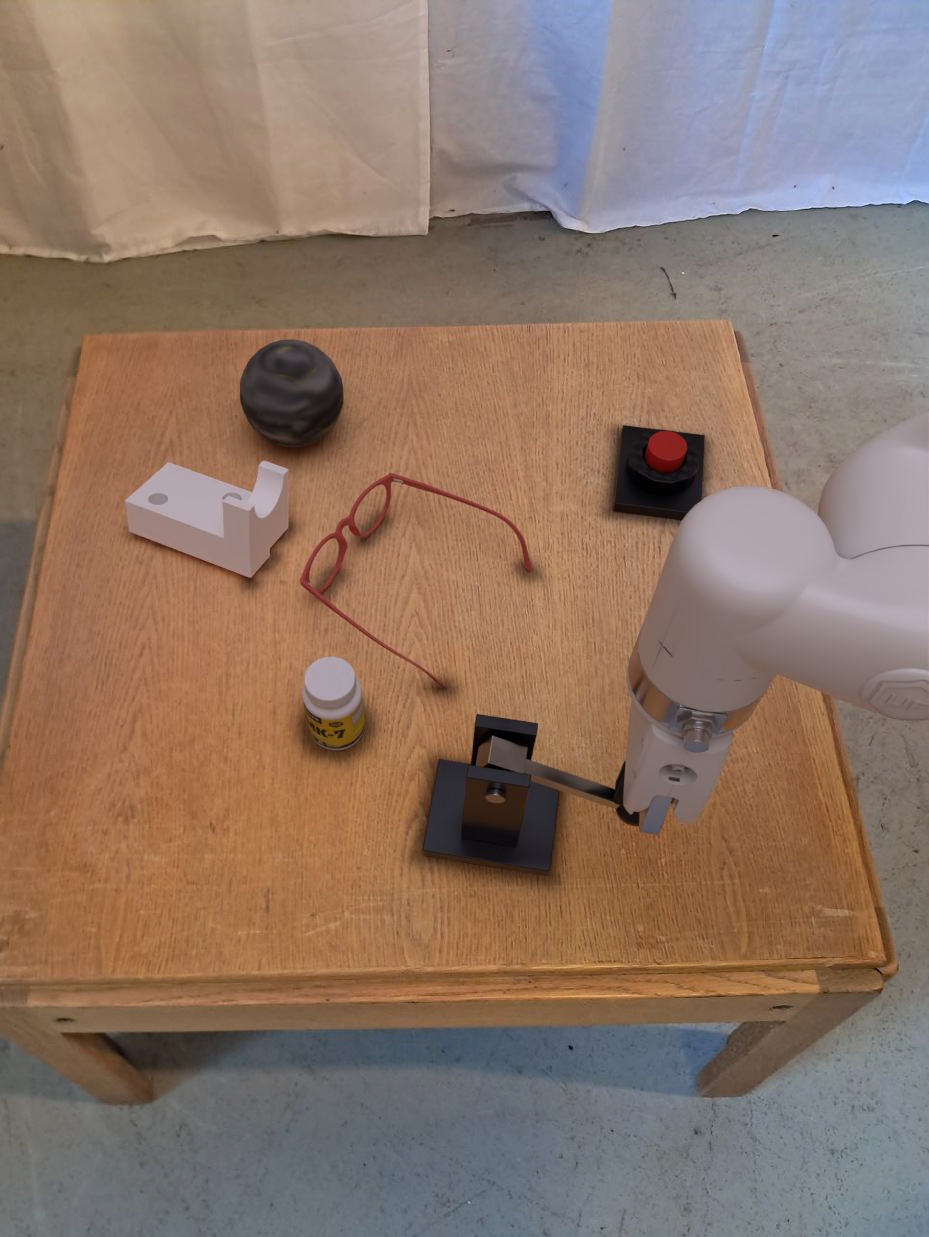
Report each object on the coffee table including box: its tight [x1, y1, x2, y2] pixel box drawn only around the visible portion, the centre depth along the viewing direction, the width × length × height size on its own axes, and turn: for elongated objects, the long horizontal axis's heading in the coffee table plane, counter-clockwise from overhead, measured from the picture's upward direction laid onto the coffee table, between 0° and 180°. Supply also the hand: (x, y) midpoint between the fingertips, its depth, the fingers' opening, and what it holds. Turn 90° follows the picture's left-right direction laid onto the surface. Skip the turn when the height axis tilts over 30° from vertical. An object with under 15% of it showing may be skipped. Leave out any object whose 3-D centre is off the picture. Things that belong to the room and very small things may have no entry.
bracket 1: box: [124, 459, 290, 579], centre depth 93 cm, size 13×7×8 cm, turn 65°
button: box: [645, 430, 687, 472], centre depth 96 cm, size 4×4×2 cm
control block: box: [612, 424, 706, 521], centre depth 97 cm, size 10×8×3 cm
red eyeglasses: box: [299, 472, 533, 689], centre depth 90 cm, size 17×16×5 cm
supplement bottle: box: [301, 656, 366, 751], centre depth 82 cm, size 5×5×8 cm
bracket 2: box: [421, 713, 561, 877], centre depth 76 cm, size 10×8×13 cm
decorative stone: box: [239, 338, 344, 448], centre depth 98 cm, size 10×10×10 cm
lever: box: [476, 736, 640, 827], centre depth 73 cm, size 14×3×3 cm, turn 80°
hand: (635, 797), depth 73 cm, fingers closed
